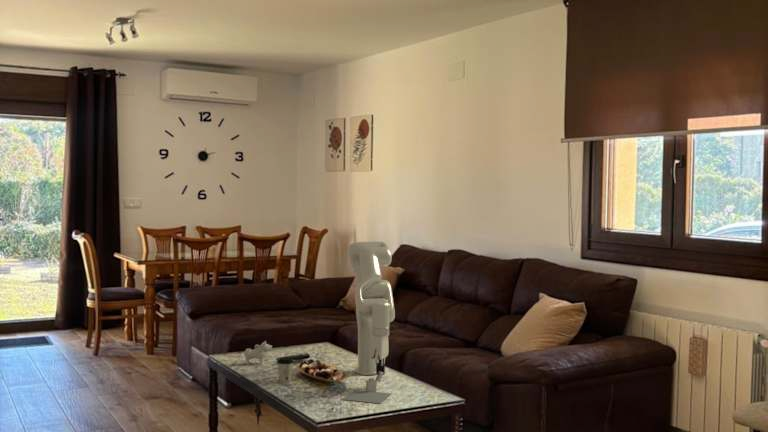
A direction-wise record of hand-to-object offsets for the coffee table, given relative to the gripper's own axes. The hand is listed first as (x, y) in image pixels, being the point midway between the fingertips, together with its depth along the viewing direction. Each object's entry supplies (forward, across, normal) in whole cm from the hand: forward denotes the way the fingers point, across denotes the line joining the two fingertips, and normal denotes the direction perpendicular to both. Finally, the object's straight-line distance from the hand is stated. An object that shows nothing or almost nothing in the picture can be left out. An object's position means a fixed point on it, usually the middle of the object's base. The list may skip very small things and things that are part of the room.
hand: (380, 374), depth 320 cm
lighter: (+5, +7, 0) cm, 9 cm away
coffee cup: (+5, +6, -41) cm, 42 cm away
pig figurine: (+5, -17, -67) cm, 69 cm away
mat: (+5, +16, 0) cm, 17 cm away
